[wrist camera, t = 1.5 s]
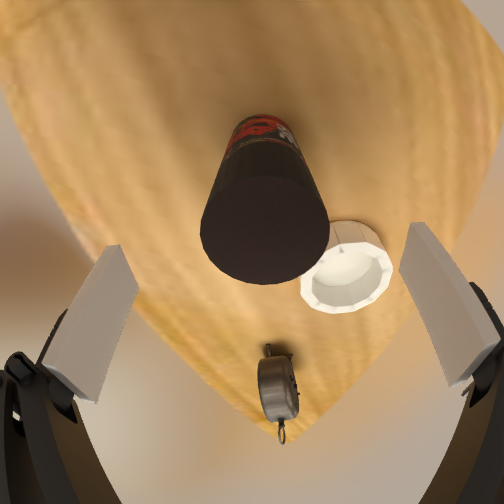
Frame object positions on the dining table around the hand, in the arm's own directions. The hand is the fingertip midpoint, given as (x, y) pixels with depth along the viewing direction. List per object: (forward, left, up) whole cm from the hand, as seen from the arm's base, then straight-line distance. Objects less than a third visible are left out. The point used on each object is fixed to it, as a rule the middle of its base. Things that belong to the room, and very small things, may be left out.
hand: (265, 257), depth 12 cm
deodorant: (0, 0, -16) cm, 16 cm away
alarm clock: (+35, 0, -16) cm, 38 cm away
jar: (+14, +8, -16) cm, 23 cm away
